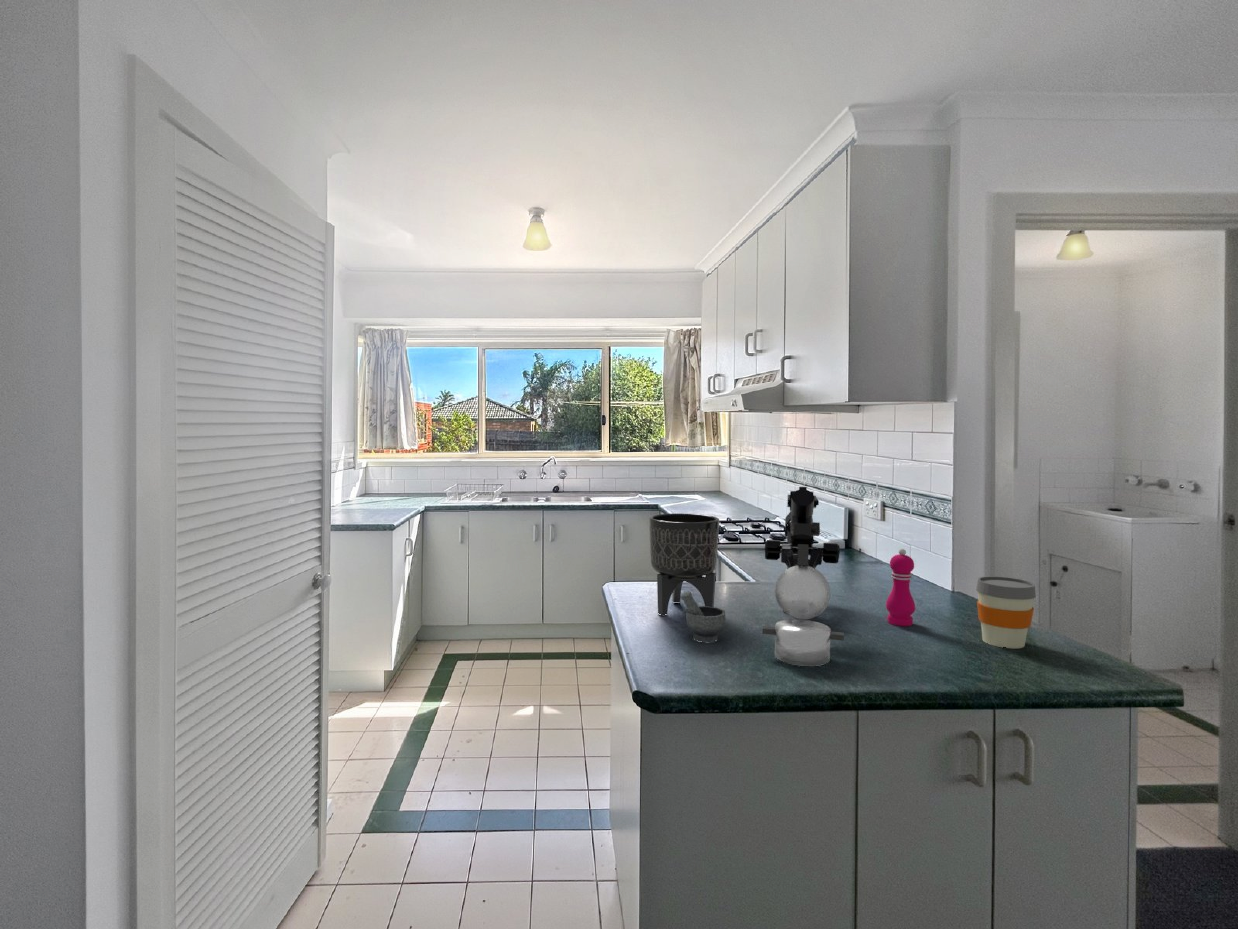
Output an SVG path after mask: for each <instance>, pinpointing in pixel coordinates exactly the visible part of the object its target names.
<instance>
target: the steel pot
mask: <svg viewBox="0 0 1238 929" xmlns="http://www.w3.org/2000/svg"><path fill="white" fill-rule="evenodd" d="M761 632H762V634H763V635H771V636H774V658H776V657H777V659H776V660H778V659H779V660H780V661H779V660H778V661H779V662H781V661H784V662H786V663H789V664H796V665H803V666H816V665H821V664H826V663H828V662H829V661H830V660H831V658H830V657H831V655H830V654H831V640H832V641H833V640H834V641H843V642H844V641H845V634H844V632H841V631H840V632H839V631H831V628H830V626H828V625H826V624H825V623H821V622H818V621H814V620H810V619H797V618H795V619H783V620H780V621H777V622H776V623H775V625H774V626H767V625H764V626H762V631H761ZM786 663H785V664H786ZM829 663H830V662H829ZM829 663H828V664H829ZM789 664H788V665H789ZM826 665H827V664H826Z"/></svg>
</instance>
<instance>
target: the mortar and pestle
mask: <svg viewBox="0 0 1238 929" xmlns="http://www.w3.org/2000/svg"><path fill="white" fill-rule="evenodd" d="M680 600H682V601H683V602H684V605H685V606H686V608H687V609H685V610H686V612H685V613H686V614H685V620H686V625H687V627H688V629H689V630H690V631H691V633H693V634H692V640H693V639H695V640H698V641H702V642H714V641H715V640H718V634H719V633H721V631H722V630H723V629H724V627H725V623H726V622H725V621H726V611H725V610H724V609H721V608H719V607H717V606H714V607H708V606H705V605H702V606H699V605H698V604H697V602H696V600H695V598H693V594H692V591H689V590H688V591H684V592H683V593H681V599H680ZM714 643H715V642H714Z"/></svg>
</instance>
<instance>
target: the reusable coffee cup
mask: <svg viewBox="0 0 1238 929" xmlns="http://www.w3.org/2000/svg"><path fill="white" fill-rule="evenodd" d="M975 590H976V592H977V596H978V597H977V598H978V600H976V606H977V616H978V620H979V622H980V627H981V636H982V638H981V639H982V641H983V642H984V643H986V644H987V643H988V644H989V645H990V646H994V647H999V648H1003V647H1006V648H1005V649H1022V648H1024V647H1025V645H1026V641H1027V636H1028V631H1029V629H1030V628H1031V625H1032V620H1033V615H1034V610H1035V608H1034V607H1033V605H1034V599H1036V596H1037V594H1036V585H1035V583H1034V582H1031V581H1028V580H1024V579H1021V578H1015V577H1008V576H995V575H994V576H993V575H992V576H990V575H989V576H988V575H986V576H980V577H978V578H977V582H976V589H975Z"/></svg>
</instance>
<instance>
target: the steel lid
mask: <svg viewBox="0 0 1238 929" xmlns="http://www.w3.org/2000/svg"><path fill="white" fill-rule="evenodd" d="M808 546H809V545H808V544H798V566H793V567H791V568H788V569H787V568H786V569H784V570H783V572H782V573H781V574H780V575H779V576H778V579H777V581H776V584H775V588H774V594H775V599H776V602H777V603H778V605H779V607H780V609H781V610H782V612H783V611H784V612H783V613H786V614H787V615H788V616H790V617H792V618H795V619H799V620H810V619H814V618H816V617H818V616H820V615H821V614H822V613H823V612H824V611H825V610H826V609H827V607H828V605H829V602H830V601H831V600H830V599H831V588H830V585H829V582H828V580H827V579H826V577H825V575H824V574H823V573H822V572H821V571H820V570H818V569H816V568H812V567H810V566H808V559H809V555H808Z"/></svg>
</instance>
